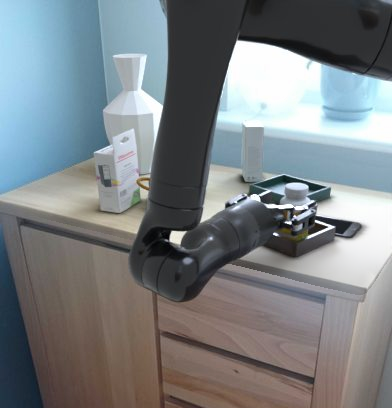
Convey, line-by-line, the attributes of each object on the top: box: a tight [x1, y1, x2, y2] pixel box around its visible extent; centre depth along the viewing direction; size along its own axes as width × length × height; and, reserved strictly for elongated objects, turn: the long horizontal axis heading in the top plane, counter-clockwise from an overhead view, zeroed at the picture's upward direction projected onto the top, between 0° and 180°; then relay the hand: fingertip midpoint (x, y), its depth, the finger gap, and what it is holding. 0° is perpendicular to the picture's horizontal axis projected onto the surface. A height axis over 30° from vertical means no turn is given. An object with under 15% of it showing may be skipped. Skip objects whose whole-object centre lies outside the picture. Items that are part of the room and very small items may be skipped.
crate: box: [263, 220, 336, 258], centre depth 99 cm, size 11×11×2 cm
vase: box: [102, 53, 163, 175], centre depth 130 cm, size 14×14×25 cm
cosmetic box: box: [241, 120, 265, 183], centre depth 127 cm, size 6×4×12 cm
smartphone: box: [315, 214, 362, 239], centre depth 106 cm, size 7×15×1 cm, turn 60°
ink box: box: [92, 129, 142, 214], centre depth 112 cm, size 9×5×15 cm, turn 154°
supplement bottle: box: [276, 183, 310, 241], centre depth 97 cm, size 5×5×10 cm
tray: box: [248, 173, 332, 205], centre depth 119 cm, size 13×11×2 cm
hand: (291, 201), depth 95 cm, fingers open, 8 cm apart
